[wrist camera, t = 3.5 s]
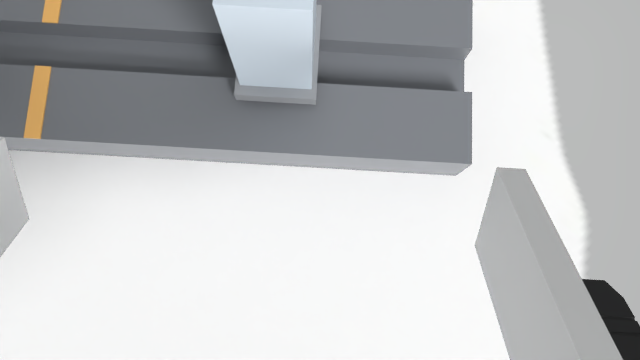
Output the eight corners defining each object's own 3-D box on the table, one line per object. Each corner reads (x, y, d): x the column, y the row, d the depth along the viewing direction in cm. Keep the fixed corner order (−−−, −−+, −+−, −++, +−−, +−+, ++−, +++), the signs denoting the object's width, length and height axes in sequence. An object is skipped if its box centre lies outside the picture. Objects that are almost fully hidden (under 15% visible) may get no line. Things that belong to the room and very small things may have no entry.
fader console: (-51, 146, 30) (-91, 130, 27) (-20, -20, 32) (-55, -52, 29) (456, 175, 31) (472, 163, 28) (457, 9, 33) (473, -19, 30)
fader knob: (240, 109, 29) (203, 17, 19) (247, 22, 30) (216, -111, 20) (315, 114, 29) (319, 24, 19) (320, 26, 30) (326, -104, 20)
